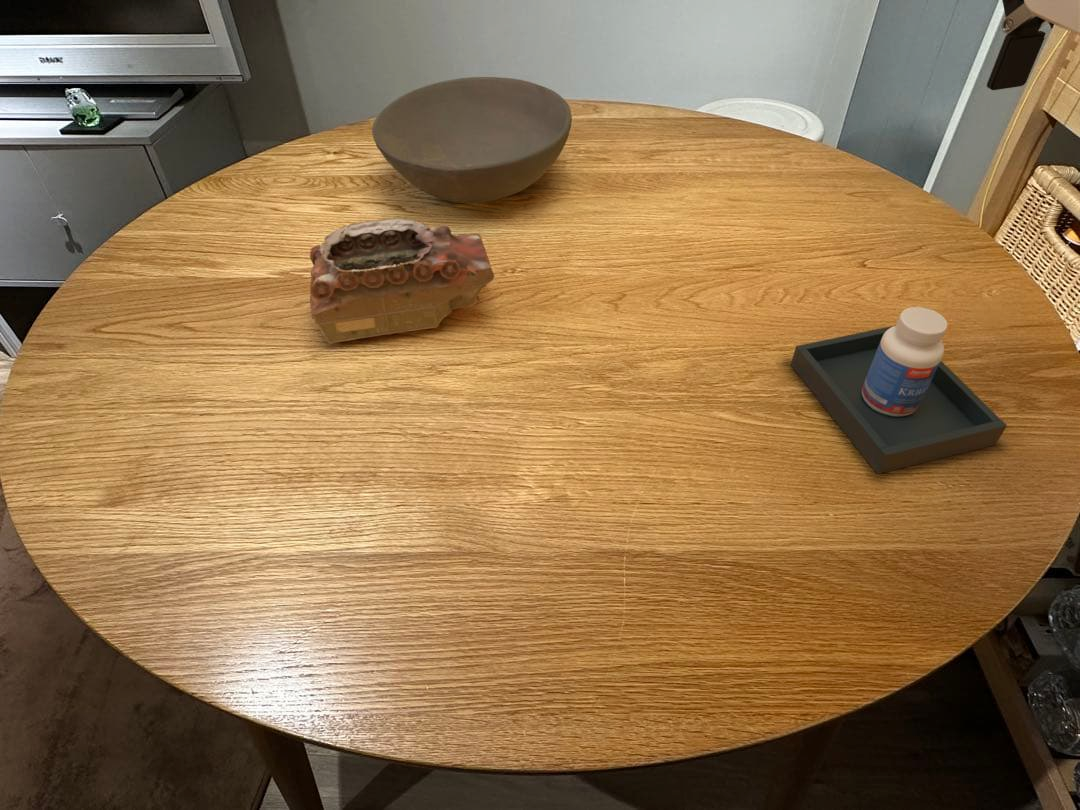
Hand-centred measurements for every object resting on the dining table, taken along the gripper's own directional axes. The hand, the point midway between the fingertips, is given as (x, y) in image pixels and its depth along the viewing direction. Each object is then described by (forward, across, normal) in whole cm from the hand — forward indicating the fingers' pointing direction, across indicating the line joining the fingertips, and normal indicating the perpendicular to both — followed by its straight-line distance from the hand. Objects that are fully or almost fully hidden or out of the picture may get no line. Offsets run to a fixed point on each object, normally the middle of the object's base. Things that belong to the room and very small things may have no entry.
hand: (1049, 111), depth 58 cm
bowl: (+28, +54, +34) cm, 70 cm away
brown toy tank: (+28, +28, +48) cm, 62 cm away
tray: (+28, -1, +5) cm, 29 cm away
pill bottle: (+28, -1, +5) cm, 28 cm away
